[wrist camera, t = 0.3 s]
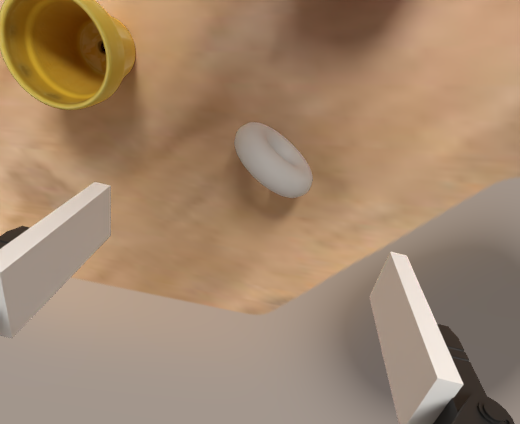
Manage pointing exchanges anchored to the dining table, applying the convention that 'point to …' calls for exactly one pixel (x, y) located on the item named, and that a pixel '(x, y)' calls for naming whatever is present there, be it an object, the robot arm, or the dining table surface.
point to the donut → (273, 160)
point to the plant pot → (65, 50)
